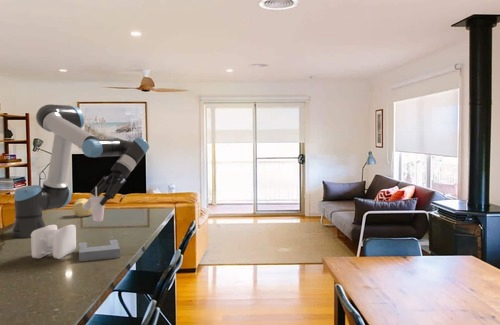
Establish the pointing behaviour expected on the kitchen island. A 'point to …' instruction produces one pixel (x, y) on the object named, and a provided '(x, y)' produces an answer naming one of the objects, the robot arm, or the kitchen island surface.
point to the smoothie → (94, 200)
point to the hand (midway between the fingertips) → (89, 209)
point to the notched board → (99, 251)
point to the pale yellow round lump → (81, 208)
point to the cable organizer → (53, 241)
